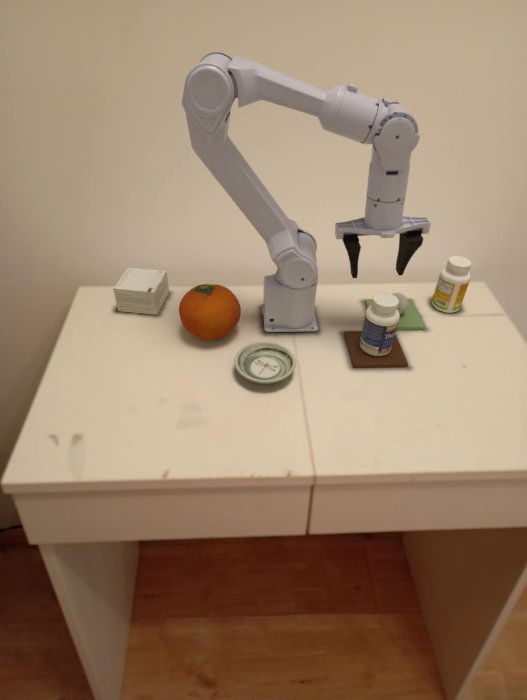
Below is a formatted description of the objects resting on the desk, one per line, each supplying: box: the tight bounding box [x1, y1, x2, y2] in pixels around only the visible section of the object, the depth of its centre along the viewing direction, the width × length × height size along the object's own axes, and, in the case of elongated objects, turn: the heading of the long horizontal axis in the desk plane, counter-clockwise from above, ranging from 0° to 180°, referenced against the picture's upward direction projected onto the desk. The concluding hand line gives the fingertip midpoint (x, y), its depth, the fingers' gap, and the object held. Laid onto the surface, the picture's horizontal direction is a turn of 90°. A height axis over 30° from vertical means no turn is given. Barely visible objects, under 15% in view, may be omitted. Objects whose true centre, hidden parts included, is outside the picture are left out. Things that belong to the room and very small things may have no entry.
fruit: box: [178, 283, 242, 341], centre depth 81 cm, size 11×10×8 cm
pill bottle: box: [360, 292, 400, 356], centre depth 77 cm, size 5×5×10 cm
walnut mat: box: [343, 330, 409, 369], centre depth 80 cm, size 9×9×1 cm
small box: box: [112, 267, 170, 316], centre depth 88 cm, size 8×8×5 cm
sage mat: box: [364, 298, 426, 331], centre depth 88 cm, size 9×9×1 cm
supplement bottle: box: [431, 255, 472, 313], centre depth 88 cm, size 5×5×10 cm
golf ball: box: [391, 292, 408, 314], centre depth 87 cm, size 4×4×4 cm
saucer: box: [234, 340, 297, 385], centre depth 75 cm, size 10×10×2 cm
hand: (376, 273), depth 79 cm, fingers open, 7 cm apart
